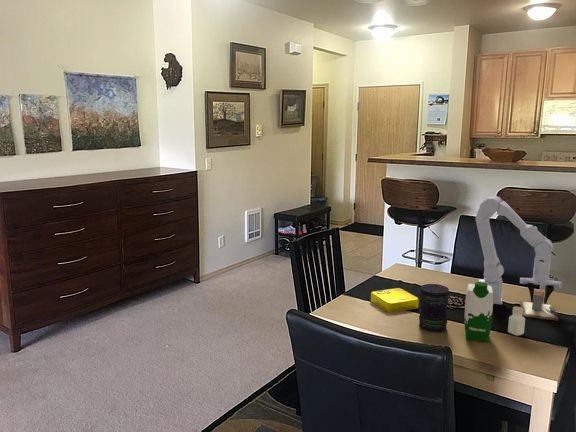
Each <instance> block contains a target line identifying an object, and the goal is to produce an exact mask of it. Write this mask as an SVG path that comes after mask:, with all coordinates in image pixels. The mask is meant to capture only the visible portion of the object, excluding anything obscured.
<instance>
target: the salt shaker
mask: <svg viewBox="0 0 576 432" xmlns="http://www.w3.org/2000/svg"><path fill="white" fill-rule="evenodd" d="M525 323H526V318H525V317H524V316H523V308H521V306H513V307H512V315H510V316H509V317H508V325H507V326H508V327H507V333H509V334H511V335H514V336H517V337H518V336H522V335H524V333H525V327H526V326H525V325H526V324H525Z"/></svg>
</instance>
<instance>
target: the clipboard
mask: <svg viewBox="0 0 576 432" xmlns="http://www.w3.org/2000/svg"><path fill="white" fill-rule="evenodd" d="M532 303H533V302H531V301H524V300H519V304H520V307H521V308H523V314H522V317H524V318H525V317H526V318H532V319H533V318H534V319H540V320H550V321H557V322H558V321H560V319H559V317H558V315H557V311H556V308H555V307H554V306H553V304H550V303H549V304H547V303H546V304H544V303H543V307H542V310H541V311H537V310H532Z"/></svg>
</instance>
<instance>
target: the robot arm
mask: <svg viewBox="0 0 576 432" xmlns="http://www.w3.org/2000/svg"><path fill="white" fill-rule="evenodd" d="M495 213H496V215H498V216H502V217H505V218H506V219H507V220H509V221H510V222H511V223H512V225H514V226H515V227H516V228H518V230H519V232H520V233H519V234H520V235H519V236H521V237H522V238H523V239H524V240H525V241H526V242H527V243H528V244H529V245H530V246H531V247H533V249H534V253H535V257H534V261H533V262H534V263H533V271H532V272H533V273H532V277H519V284H522V285H523V284H526V286H527V289H528V292H529V296H530V302H532V303H533V293H534V292H535V286H536V285H537V286H544V298H543V304H547V302H548V300H549V298H550V296H551V294H552V293H553V292H554V291H555V287H556V288H562V286H563V285H562V282H561V281H558V280H553V279H550V272H551V265H552V264H551V263H552V251H553V248H554V245H553V242H552V240H551V239H548V238H547V236H545V235H543V234H542V233H541V232H540V231H539V230H538V227H537V226H535V225H533V224H528V223H526V222H525V221H524V220H523V219H522V218H521V217H520V215H518V213H517V212H516V211H515V210H514V209H513V208H512V207H511V206H510V205H509V204H508V203H507V202H506V201H504V200H503V199H502V198H501V197H500V196H498V195H491V196H489V197H488V198H486V199H484V200H483V202H481V203H480V205H479V207H478V211H477V212H476V215H475V224H476V227H477V232H478V236H479V241H480V246H481V249H482V255H483V258H484V261H483V268H484V269H483V270H484V271H483V278H479V279H478V282H482V283H486V284H487V285H488V286H491V287H492V290H493V305H494V304H495V305H500V306H501V305H503V299H502V290H503V281H504V280H503V278H502V275H504V272H505V268H504V266H503V265H502V264H501V261H500V259H499V256H498V253H497V250H496V246H495V240H494V237H493V232H492V228H491V224H490V220H491V218H492V217H493V216H494V214H495Z"/></svg>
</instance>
